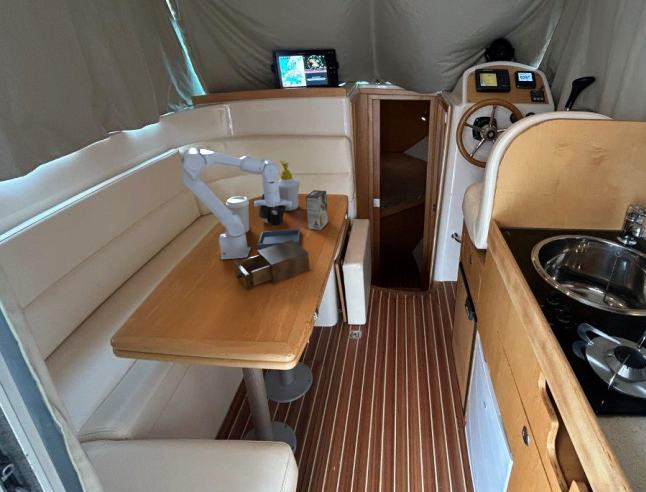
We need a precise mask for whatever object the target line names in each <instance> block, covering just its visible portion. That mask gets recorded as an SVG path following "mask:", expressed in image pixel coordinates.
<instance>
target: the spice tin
mask: <svg viewBox="0 0 646 492" xmlns="http://www.w3.org/2000/svg"><path fill="white" fill-rule="evenodd" d="M269 216H270V224H269V225H270V226H273V227H276V226H281V224H280V223H279V216H278V212H277V211H271V212H269Z"/></svg>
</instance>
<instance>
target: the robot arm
mask: <svg viewBox="0 0 646 492" xmlns="http://www.w3.org/2000/svg"><path fill="white" fill-rule="evenodd" d="M215 164H218V165H224V166H230V167H237V168H238V169H240V171H241V172H245V173H250V174H255V175H261V176H262V181H261V182H262V188H263V189H262V190H263V194H264V197H265V200H261V199H256V200H254V201H253V206H254V207H255V208H257V207H259V206H261V209H260V210H261V211H262V213H263V214H264V215H265V217H266V219H267V221H268V223H270V216H269V212H270V207H272V206H279V207H278V208H277V212H278V216H279V223H280V225H281V224H282V223H283V222H284V221H283V220H284V214H285V212H286V211H285V208H286V206H288V207H291V206H292V201H288V200H281V199H280V194H279V185H278V181H279V179H278V174H279V168H278V165H276V164H275V163H274V162H273V161H272V160H270V159H268V158H262V159H261V158H257V157H253V156H252V154H251V155H250V154H248V155H244V156H242V157H238V156H237V157H236V156H232V155H229V154H225V153H221V152H216V151H212V150H207V149H202V148H200V149H199V148H197V147H190V148H188V149H186V150H185V151H184V152H183V155H182V158H181V172H182V183H183V184H184V185H185V186H186V187H187V188H188V189H189V191H191V192H192V193H193V195H195V196H196V197H197V198H198V200H200V202H202V204H203V205H204V206H205V207H206V208H207V209H208V210H209V211H210V212H211V213H212V214H213V215H214V216H215V217H216V218H217V219H218V220H219V222H220V223H221V225H222V226H223V227H224V229H225V232H224V233H220V235H219V238H218V244H219V245H218V246H219V250H220V256H221V257H220V259H221V260H232V259H247V258H249V257H248V256H249V254H250V251H251V248H252V247H251V246H248V242H247V236H246V235H247V234H246V232H245V230H244V225H243V224H242V221H241V218H240V216H239V215H237V214H234V213H233V212H232V211H231V210H229V209H228V208H227V207H226V204H224V203H223V202H222V201H221V200H220V198H218V197H217V196H216V194H214V192H213V191H212V190H211V189H210V188H209V187H208V185H207V184H205V182H204V181H203V180H202V179H201V178H200V177H201V173H202V170H203V169H204V168H205V165H206V167H207V168H208V167H210V166H212V165H215ZM268 223H267V224H268Z"/></svg>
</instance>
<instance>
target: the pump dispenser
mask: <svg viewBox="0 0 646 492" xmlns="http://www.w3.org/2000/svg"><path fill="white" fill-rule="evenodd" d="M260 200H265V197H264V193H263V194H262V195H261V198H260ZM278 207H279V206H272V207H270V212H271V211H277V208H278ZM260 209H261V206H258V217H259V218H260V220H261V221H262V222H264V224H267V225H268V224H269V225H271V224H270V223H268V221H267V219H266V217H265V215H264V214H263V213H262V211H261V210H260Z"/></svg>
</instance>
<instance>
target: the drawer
mask: <svg viewBox="0 0 646 492" xmlns="http://www.w3.org/2000/svg"><path fill="white" fill-rule="evenodd" d="M233 267H234V273H235V277H236V279H237V280H238V281H240V283H241V284H242V285H243V287H244V288H245V289H246V290H247V291H249V290H252V285H253V287H254V286H257V285H260V284H263V283H265V282H269V281H271V279H273V278H272V270H271V265H270V264H269V263H268V262H267V261H266V260H265V259H264V258H263V257H262V256H261V255H258V254H257V255H253V256H250V257H246V258H243V259H242V260H241V263H240V261H238V260H233ZM251 284H252V285H251Z"/></svg>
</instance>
